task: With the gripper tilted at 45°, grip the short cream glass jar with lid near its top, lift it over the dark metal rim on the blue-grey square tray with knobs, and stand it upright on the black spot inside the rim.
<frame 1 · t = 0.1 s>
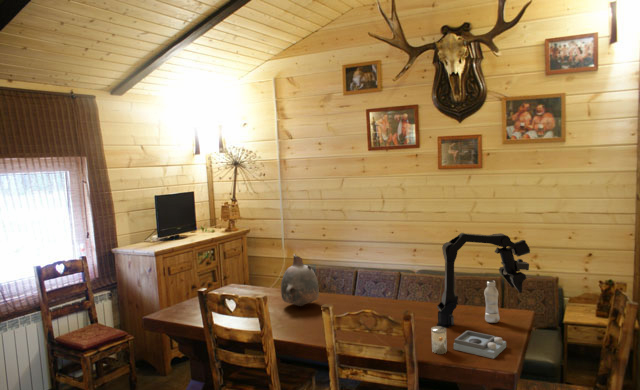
hand: (516, 290, 228), 15 cm above the table, tool pointing down, fingers open, 9 cm apart
square tray with knobs: (479, 348, 201), on the table
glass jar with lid: (439, 351, 200), on the table
plastic bottle: (492, 322, 230), on the table
jug: (300, 306, 271), on the table
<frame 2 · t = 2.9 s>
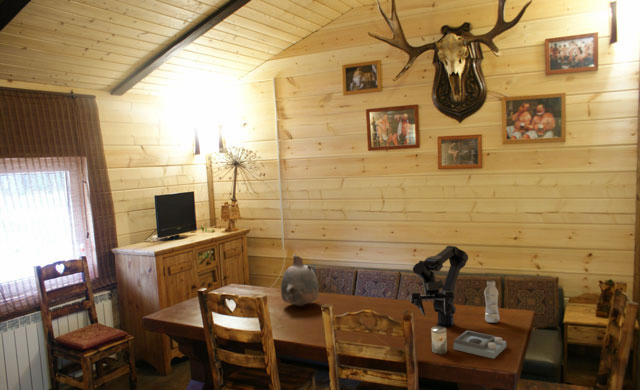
hand: (435, 315, 206), 13 cm above the table, tool tilted 45°, fingers open, 9 cm apart
nothing on the table moved.
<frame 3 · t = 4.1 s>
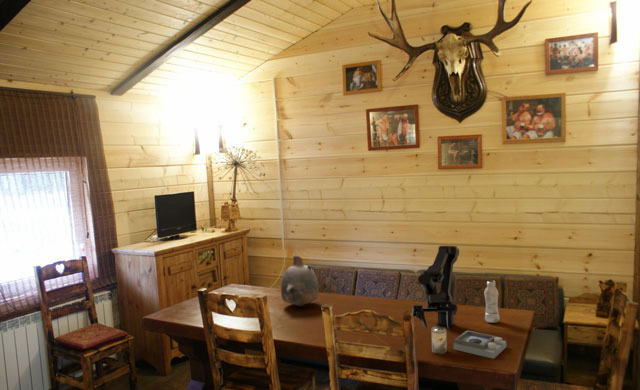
hand: (437, 328, 201), 9 cm above the table, tool tilted 45°, fingers open, 9 cm apart
nothing on the table moved.
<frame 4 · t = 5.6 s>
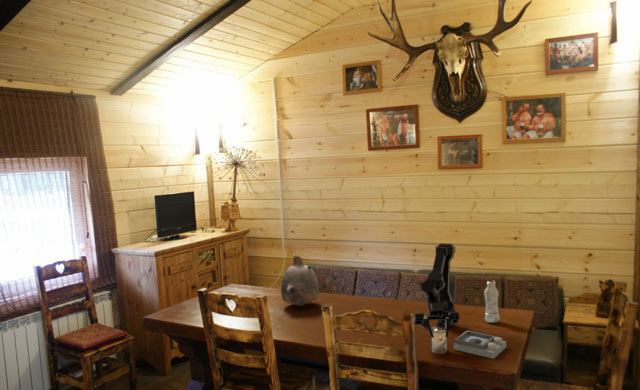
hand: (439, 337, 198), 7 cm above the table, tool tilted 45°, fingers closed on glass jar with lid, 6 cm apart
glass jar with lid: (439, 351, 200), on the table, touching gripper
everything else where it was.
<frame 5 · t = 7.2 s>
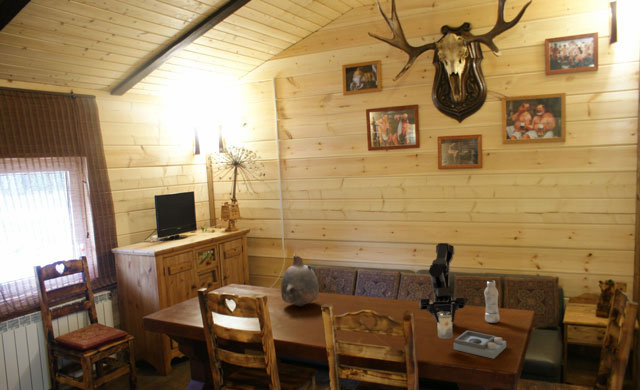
hand: (445, 321, 198), 13 cm above the table, tool tilted 45°, fingers closed on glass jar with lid, 6 cm apart
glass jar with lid: (445, 336, 200), point 6 cm above the table, touching gripper
everything else where it was.
when the fingers open (10 cm above the table, at t = 9.2 s): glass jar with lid stays where it is, resting on square tray with knobs.
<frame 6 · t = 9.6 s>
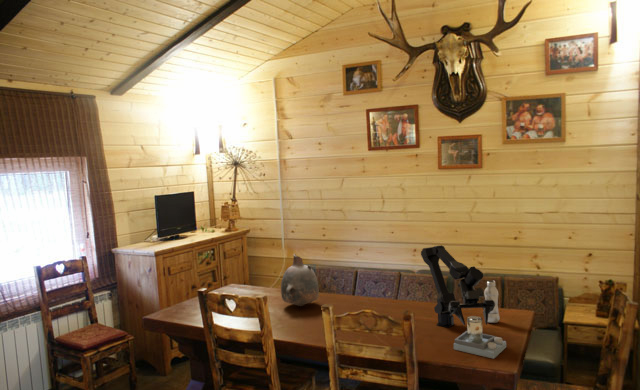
hand: (475, 324, 200), 10 cm above the table, tool tilted 45°, fingers open, 9 cm apart
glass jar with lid: (475, 340, 202), point 3 cm above the table, touching square tray with knobs
everything else where it was.
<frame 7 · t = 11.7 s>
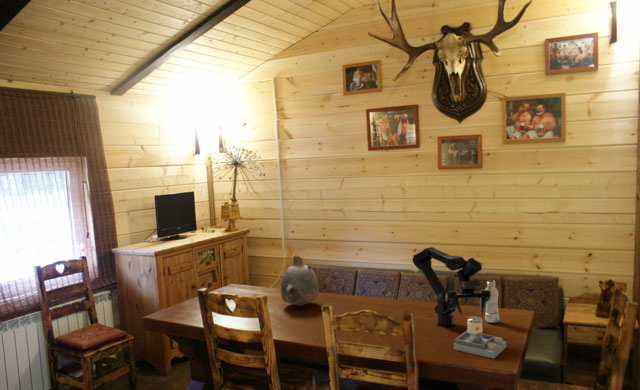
hand: (471, 313, 205), 13 cm above the table, tool tilted 45°, fingers open, 9 cm apart
nothing on the table moved.
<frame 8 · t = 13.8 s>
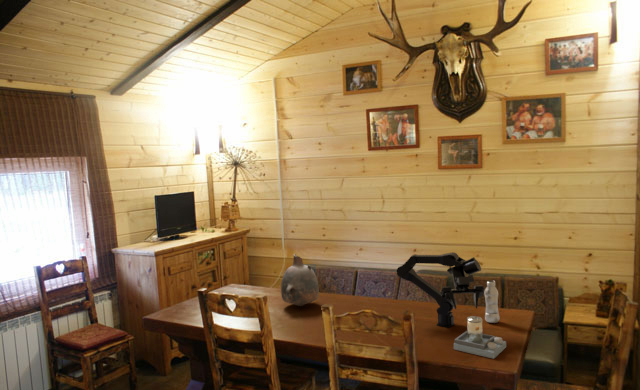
hand: (466, 308, 213), 13 cm above the table, tool tilted 45°, fingers open, 9 cm apart
nothing on the table moved.
at the end: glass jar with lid 0.0 cm from the target spot on the square tray with knobs, point 2.8 cm above the square tray with knobs's base; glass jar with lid tilted 0°; the gripper is holding nothing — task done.
